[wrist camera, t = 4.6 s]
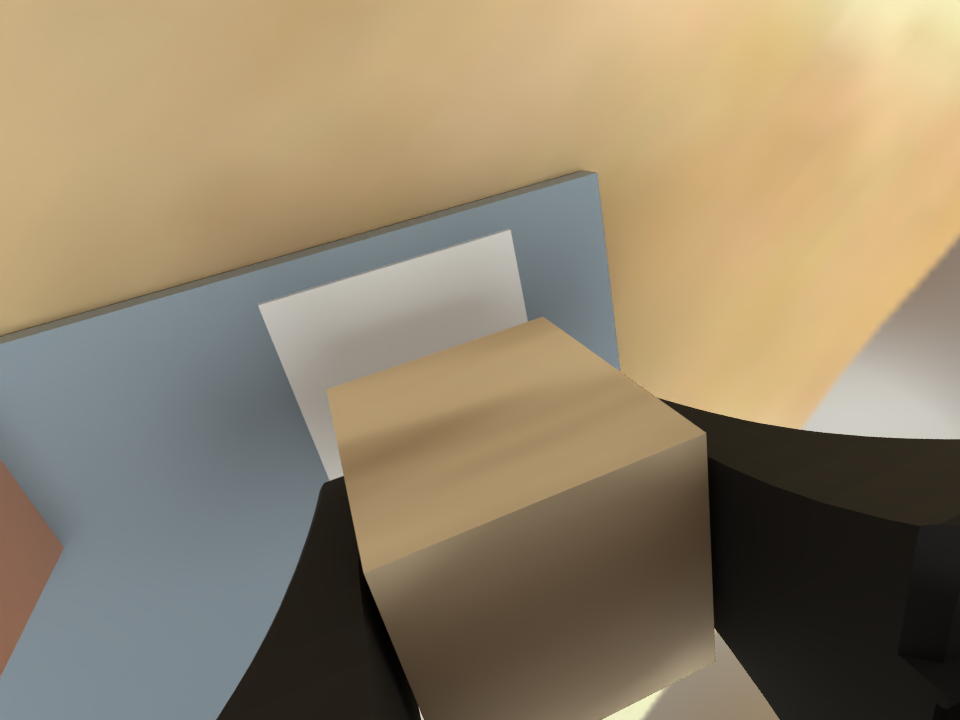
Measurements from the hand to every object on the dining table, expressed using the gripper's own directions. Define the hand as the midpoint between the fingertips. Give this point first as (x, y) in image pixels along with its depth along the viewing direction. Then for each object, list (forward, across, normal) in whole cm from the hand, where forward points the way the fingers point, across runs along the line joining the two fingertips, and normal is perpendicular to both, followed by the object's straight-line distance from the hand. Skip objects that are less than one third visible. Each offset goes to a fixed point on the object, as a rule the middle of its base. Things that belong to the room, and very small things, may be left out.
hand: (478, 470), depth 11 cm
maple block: (+1, 0, 0) cm, 1 cm away
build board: (+6, +5, +4) cm, 8 cm away
